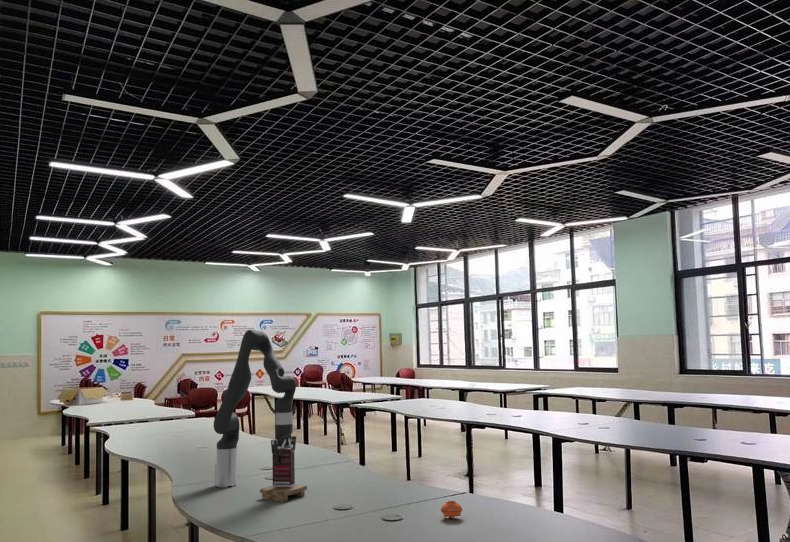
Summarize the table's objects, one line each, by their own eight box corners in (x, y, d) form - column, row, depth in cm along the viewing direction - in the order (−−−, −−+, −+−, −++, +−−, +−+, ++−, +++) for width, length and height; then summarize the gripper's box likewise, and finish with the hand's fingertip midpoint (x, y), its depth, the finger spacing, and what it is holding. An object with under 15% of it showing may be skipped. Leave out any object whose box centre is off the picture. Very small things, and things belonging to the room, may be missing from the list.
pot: (452, 522, 223) (448, 502, 225) (438, 523, 229) (435, 504, 231) (468, 517, 228) (464, 498, 230) (455, 518, 234) (451, 499, 236)
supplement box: (295, 484, 270) (295, 447, 271) (290, 487, 265) (290, 449, 267) (276, 484, 272) (276, 446, 273) (271, 486, 267) (271, 448, 269)
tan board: (260, 498, 265) (260, 489, 266) (282, 492, 277) (282, 482, 278) (285, 502, 258) (285, 492, 259) (306, 495, 270) (306, 485, 270)
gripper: (279, 425, 264) (278, 466, 261) (301, 421, 276) (301, 460, 274) (265, 424, 267) (265, 464, 265) (288, 420, 280) (288, 459, 278)
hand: (283, 462), depth 270 cm, fingers open, 6 cm apart
